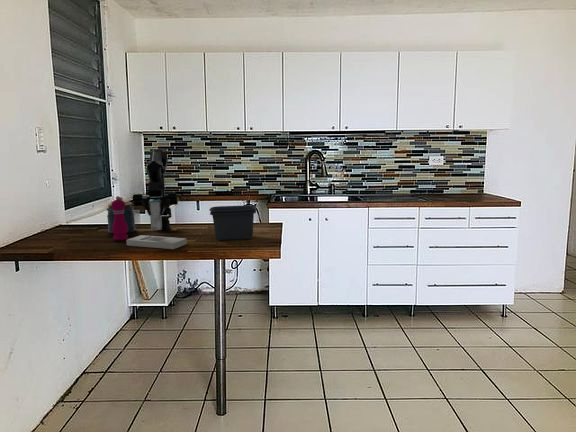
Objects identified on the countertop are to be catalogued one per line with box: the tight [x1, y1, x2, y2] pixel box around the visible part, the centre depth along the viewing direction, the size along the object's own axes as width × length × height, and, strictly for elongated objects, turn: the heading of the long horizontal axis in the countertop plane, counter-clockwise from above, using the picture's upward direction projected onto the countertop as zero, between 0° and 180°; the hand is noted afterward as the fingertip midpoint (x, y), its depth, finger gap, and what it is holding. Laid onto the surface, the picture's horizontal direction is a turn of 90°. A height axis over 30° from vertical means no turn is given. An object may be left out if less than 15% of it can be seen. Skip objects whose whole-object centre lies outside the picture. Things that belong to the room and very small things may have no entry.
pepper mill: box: [111, 195, 129, 241], centre depth 213 cm, size 7×7×20 cm
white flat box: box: [125, 234, 188, 250], centre depth 201 cm, size 24×10×3 cm, turn 70°
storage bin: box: [208, 205, 257, 241], centre depth 213 cm, size 21×16×14 cm
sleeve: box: [148, 199, 162, 231], centre depth 199 cm, size 5×5×13 cm
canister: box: [106, 196, 136, 235], centre depth 230 cm, size 13×13×18 cm
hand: (155, 214), depth 198 cm, fingers closed on sleeve, 5 cm apart
